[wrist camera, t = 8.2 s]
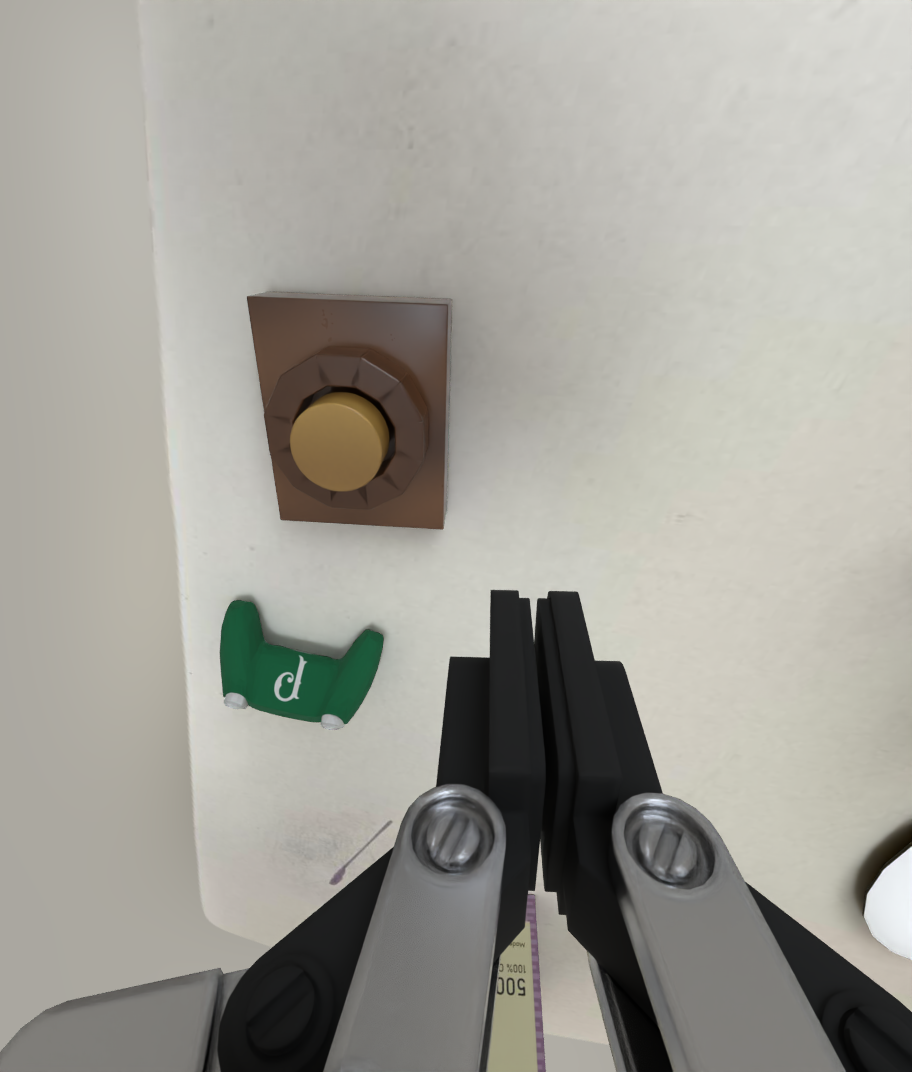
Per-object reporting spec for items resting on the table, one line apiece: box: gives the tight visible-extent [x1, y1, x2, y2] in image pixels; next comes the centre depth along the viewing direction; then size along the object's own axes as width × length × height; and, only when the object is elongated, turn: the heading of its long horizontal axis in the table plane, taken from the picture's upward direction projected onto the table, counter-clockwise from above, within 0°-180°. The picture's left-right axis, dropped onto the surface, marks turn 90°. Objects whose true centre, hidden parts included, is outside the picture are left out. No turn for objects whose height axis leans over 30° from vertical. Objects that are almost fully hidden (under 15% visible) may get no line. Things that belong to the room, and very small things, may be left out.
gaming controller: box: [220, 600, 384, 730], centre depth 31 cm, size 9×4×6 cm
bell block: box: [247, 292, 452, 529], centre depth 23 cm, size 10×8×4 cm
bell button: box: [290, 392, 389, 491], centre depth 21 cm, size 4×4×2 cm
